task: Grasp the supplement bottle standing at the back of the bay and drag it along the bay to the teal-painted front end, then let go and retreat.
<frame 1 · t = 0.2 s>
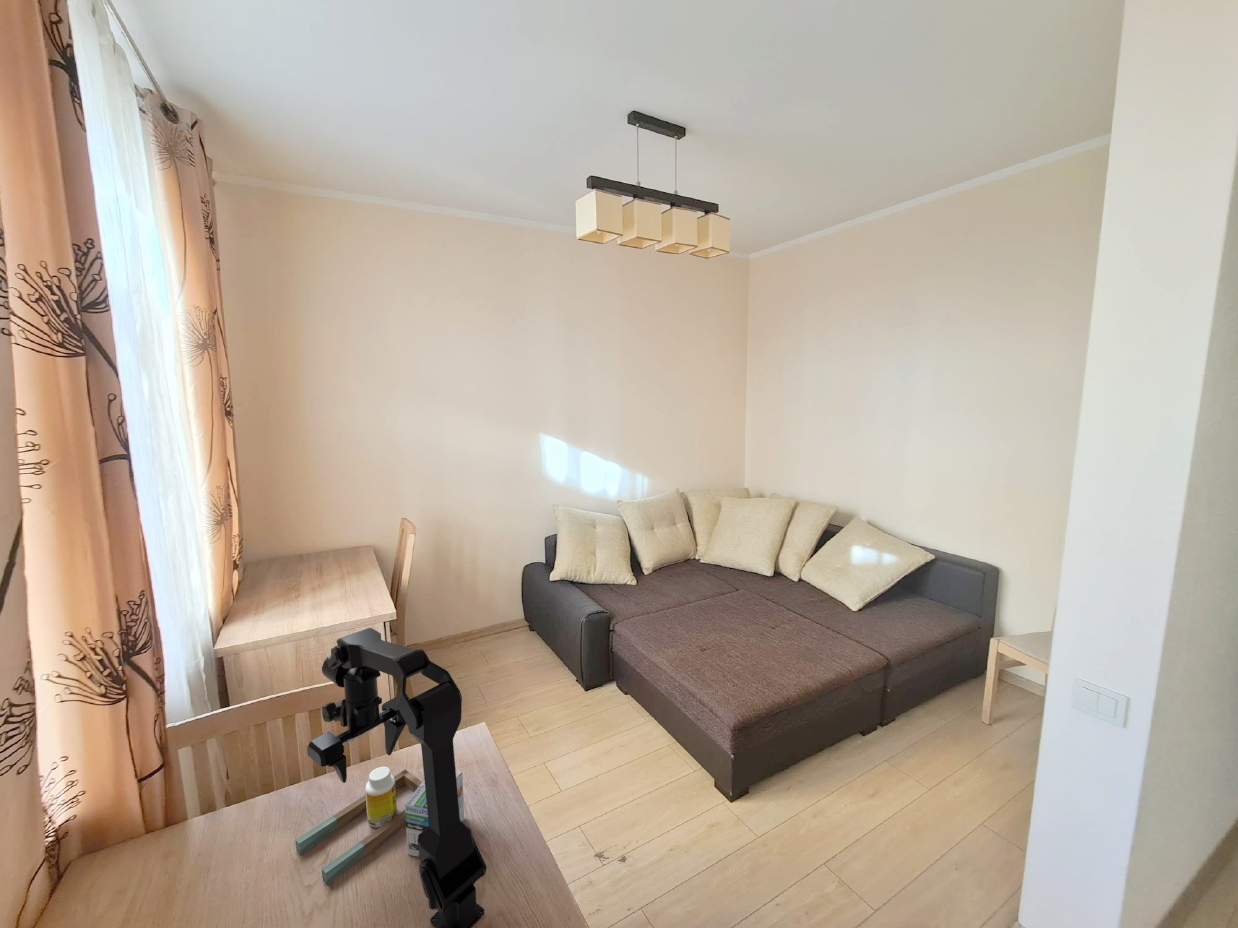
hand: (367, 767, 102), 14 cm above the table, fingers open, 9 cm apart
supplement bottle: (382, 818, 107), on the table
bay: (371, 825, 105), on the table
light bulb box: (437, 836, 103), on the table
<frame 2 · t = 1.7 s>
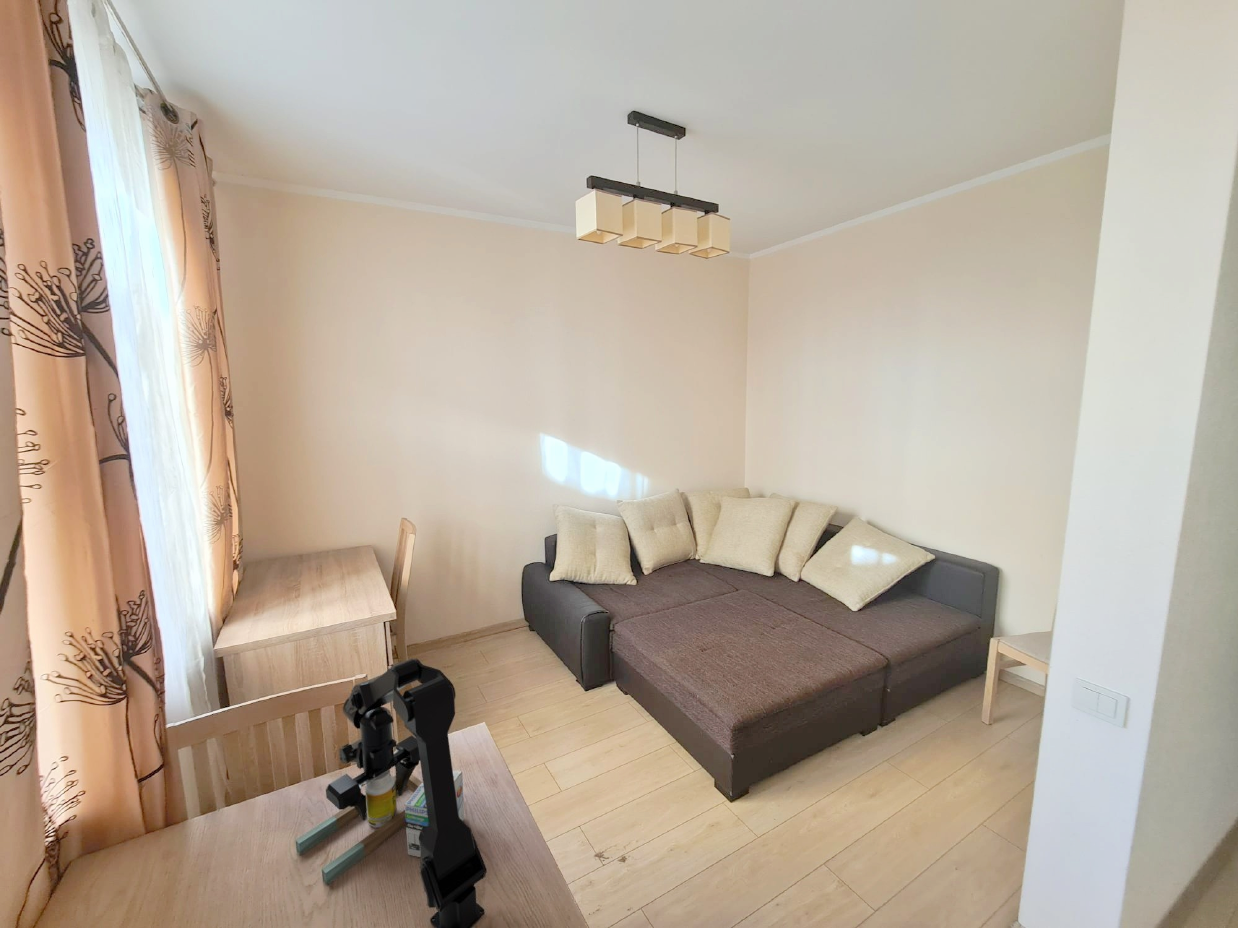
hand: (381, 806, 107), 3 cm above the table, fingers closed on supplement bottle, 7 cm apart
supplement bottle: (382, 818, 107), on the table, touching gripper
everything else where it was.
when the fingers open (3 cm above the table, at t = 2.8 s): supplement bottle stays where it is, on the table.
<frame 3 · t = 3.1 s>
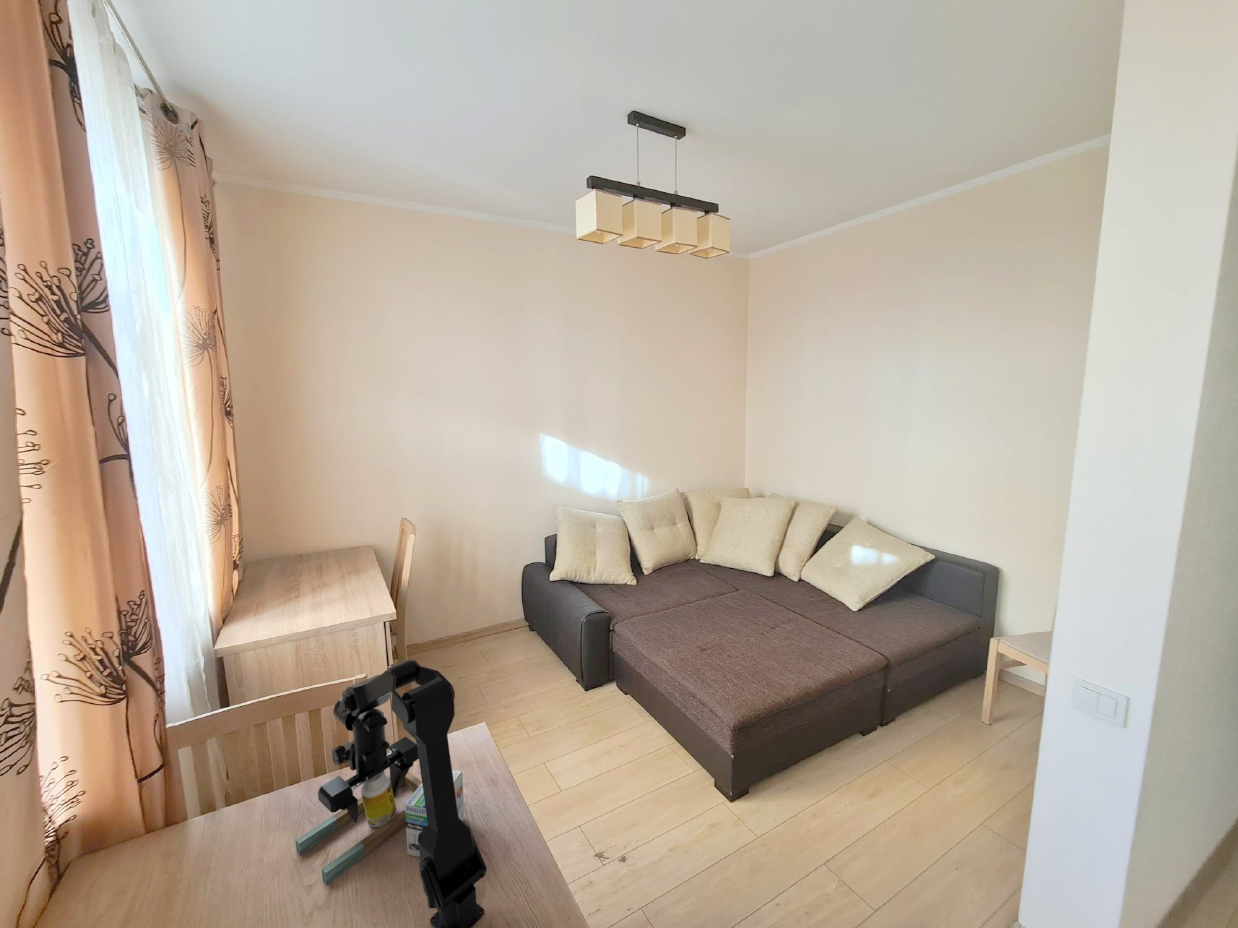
hand: (375, 808, 106), 3 cm above the table, fingers open, 8 cm apart
supplement bottle: (382, 817, 107), on the table, touching gripper
everything else where it was.
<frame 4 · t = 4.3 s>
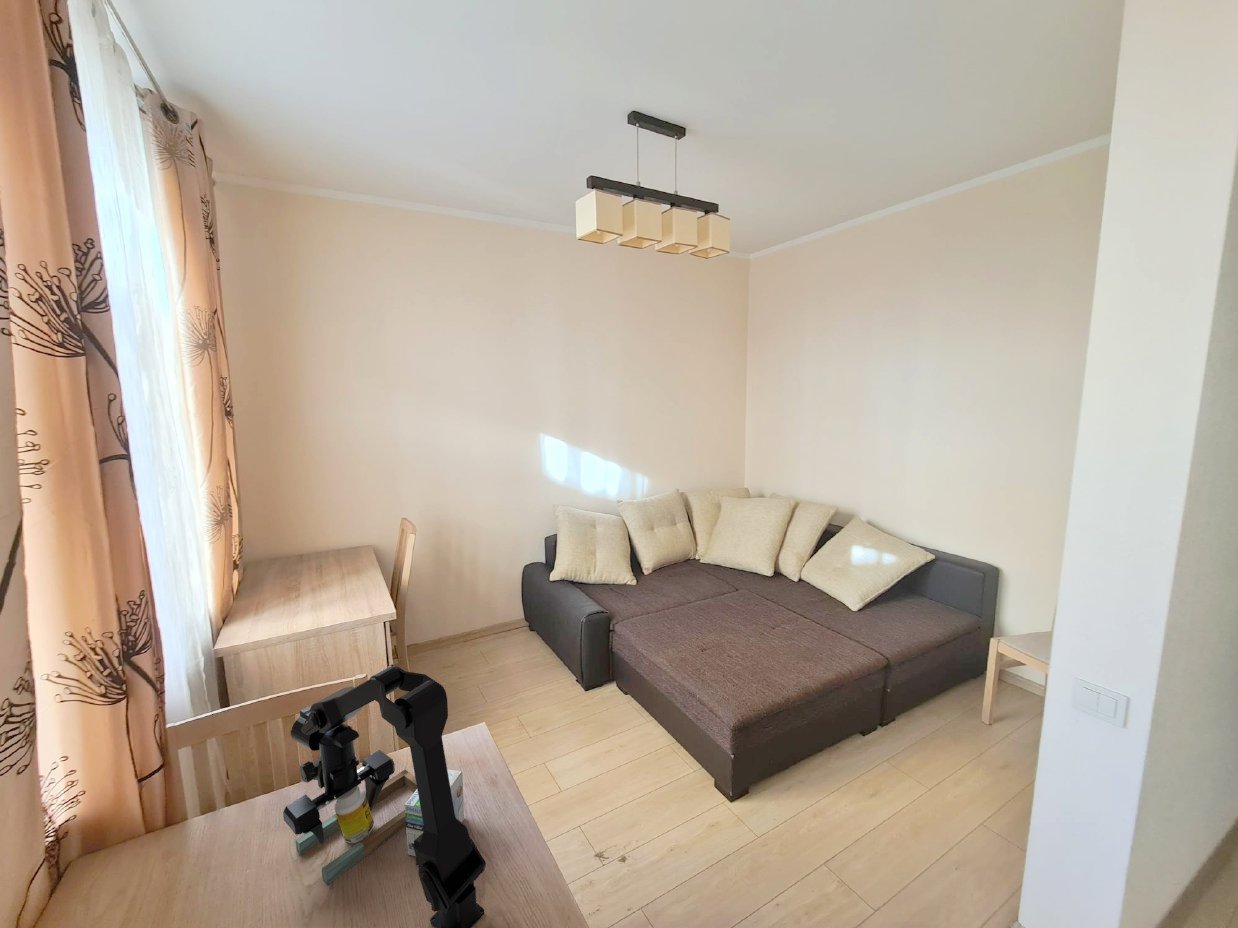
hand: (346, 825, 101), 3 cm above the table, fingers open, 9 cm apart
supplement bottle: (360, 831, 103), on the table, touching gripper
everything else where it was.
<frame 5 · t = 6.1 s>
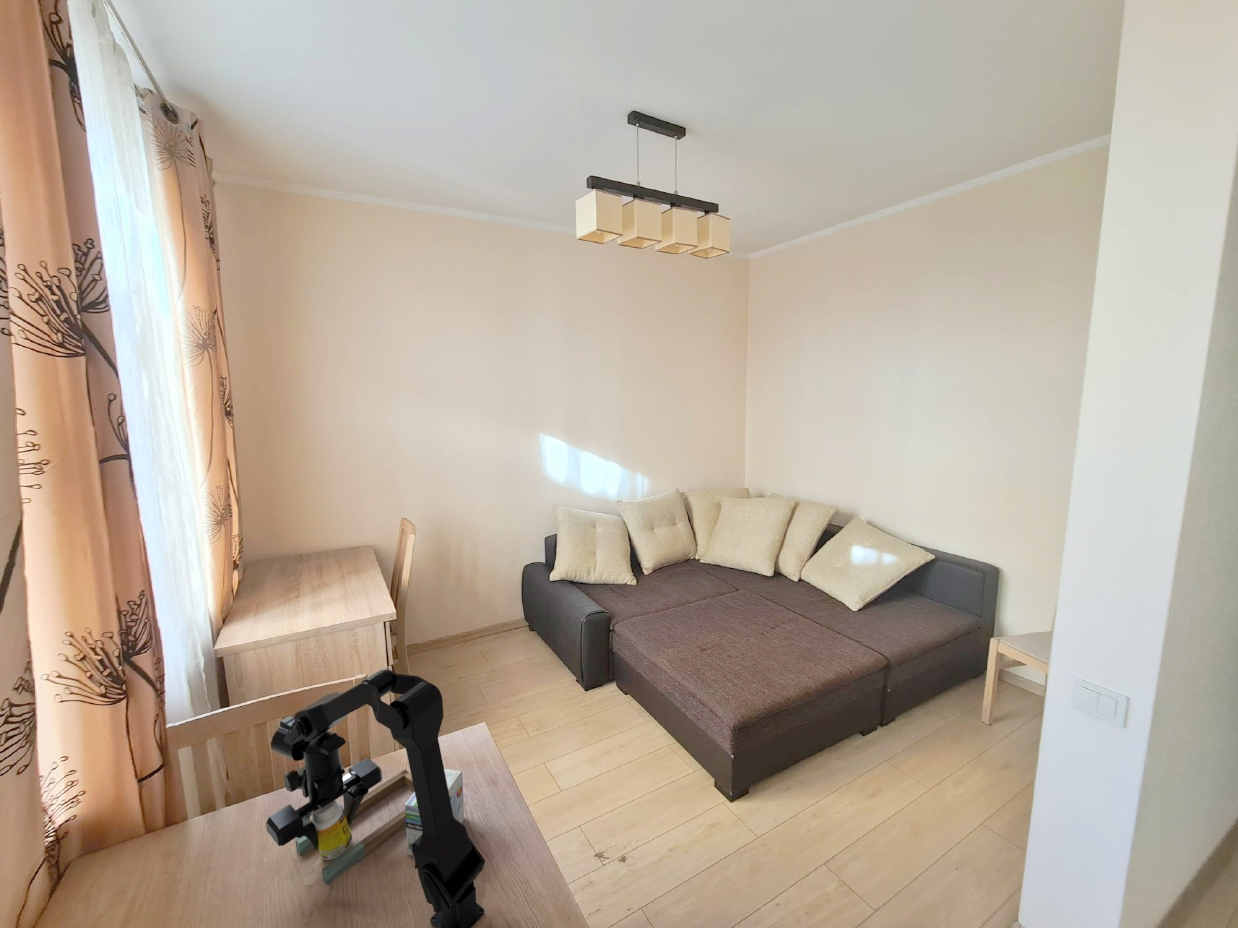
hand: (332, 835, 99), 3 cm above the table, fingers closed on supplement bottle, 6 cm apart
supplement bottle: (337, 847, 100), on the table, touching gripper
everything else where it was.
when the fingers open (3 cm above the table, at t = 6.2 s): supplement bottle stays where it is, on the table.
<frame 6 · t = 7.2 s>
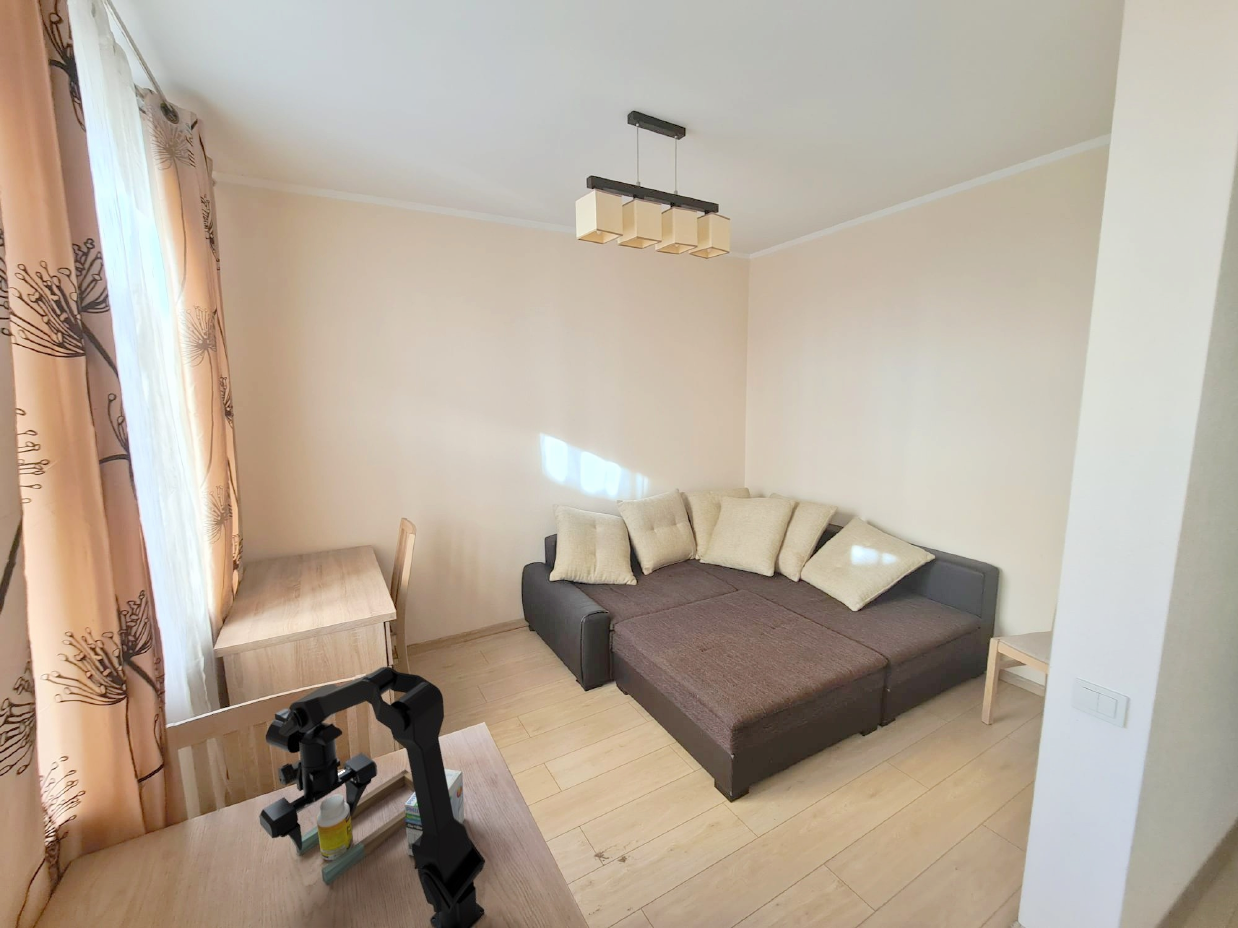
hand: (325, 831, 98), 5 cm above the table, fingers open, 9 cm apart
supplement bottle: (337, 849, 100), on the table
everything else where it was.
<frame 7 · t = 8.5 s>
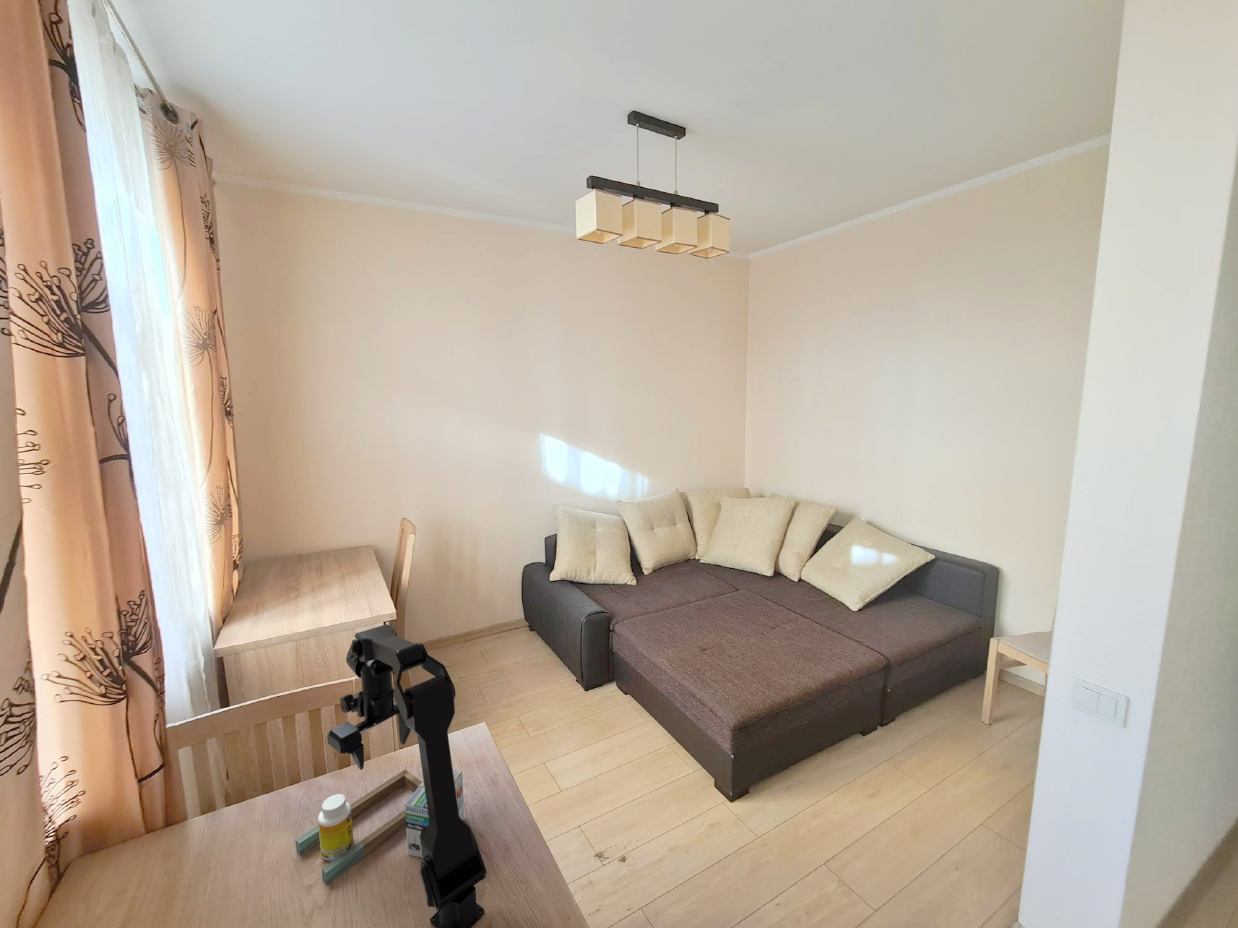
hand: (382, 755, 108), 12 cm above the table, fingers open, 9 cm apart
nothing on the table moved.
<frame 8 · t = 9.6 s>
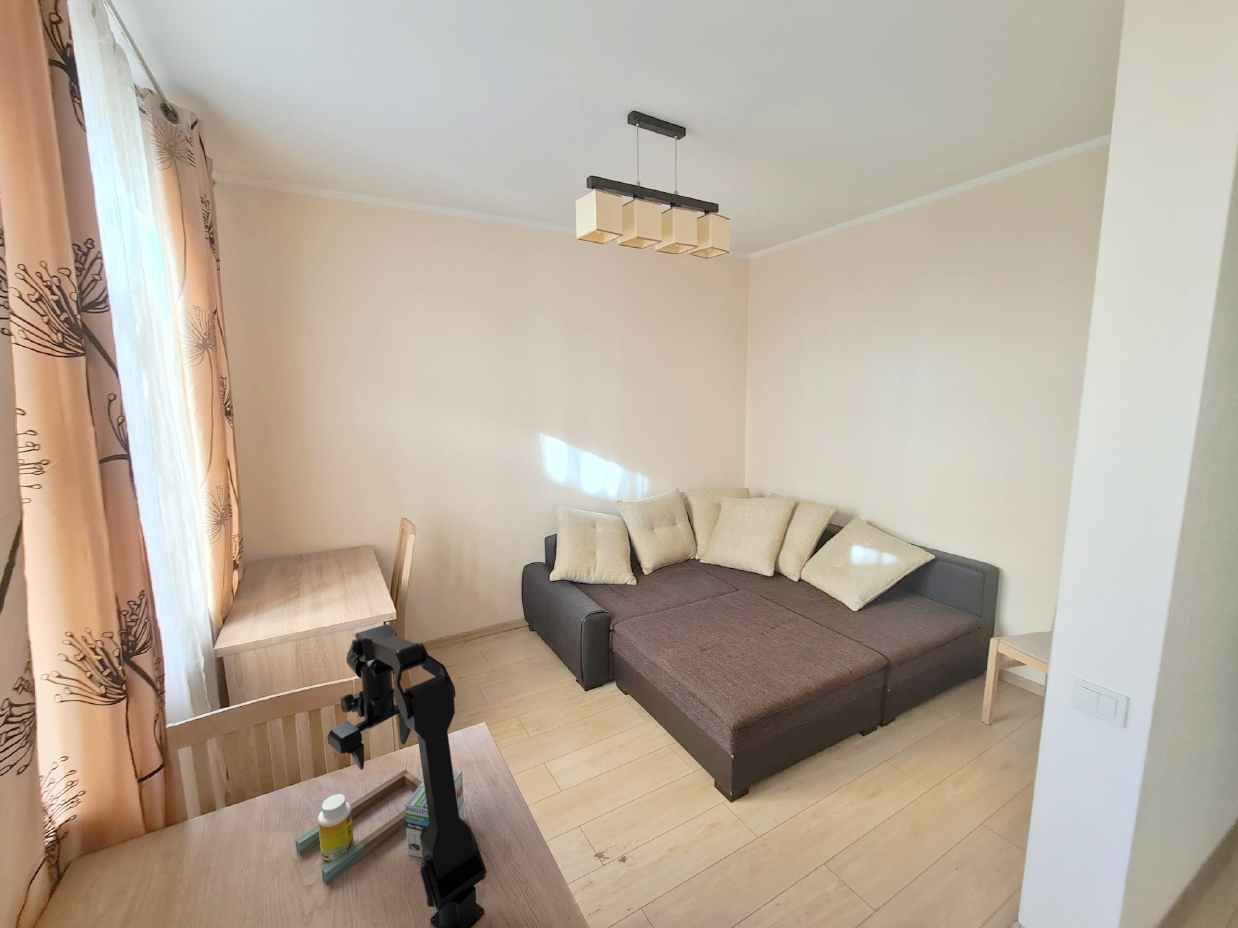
hand: (382, 755, 108), 12 cm above the table, fingers open, 9 cm apart
nothing on the table moved.
at the end: supplement bottle inside the target area (2.4 cm from its centre), on the table; supplement bottle tilted 0°; the gripper is holding nothing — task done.
